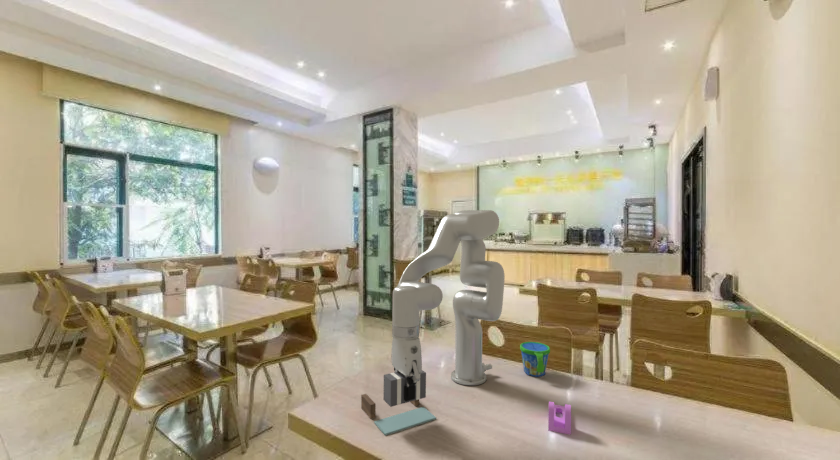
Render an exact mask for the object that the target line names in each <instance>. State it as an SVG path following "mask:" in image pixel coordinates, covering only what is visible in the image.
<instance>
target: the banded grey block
mask: <svg viewBox="0 0 840 460" xmlns="http://www.w3.org/2000/svg"><path fill="white" fill-rule="evenodd" d="M410 373H412V371H411V372H409V374H410ZM419 376H420V380H419V381H417V383H416V385H415V399H413V400H409V401H405V400H404V386H406V385H405V375H404V374H402V373H401V372H395V371H394V372H390V373H386V374H385V373H384V374H383V395H382V396H383V401H384V402H385V403H386V404H387V405H388V406H389V407H395V406H399V405H403V404H406V403H411V401H414V400H419V401H420V400H422V399H425V398H427V392H426V390H427V373H426V371H424V370H423V369H422V372H421V374H419ZM410 379H412V376H411V377H409V380H410Z"/></svg>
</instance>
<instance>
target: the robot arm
mask: <svg viewBox="0 0 840 460" xmlns="http://www.w3.org/2000/svg"><path fill="white" fill-rule="evenodd" d="M499 226H500V219H499V215H498V214H497V212H496V211H494V210H491V209H484V210H483V209H481V210H480V209H478V210H477V209H475V210H474V209H473V210H472V209H471V210H470V209H469V210H459V211H456V212H454V213H450V214H447V215H444V217H442V219H441V220H440V222H439V224H438V227H437V229H436V231H435V233H434V236H433V237H432V239H431V242H430V244H429V246H428V248H427V249H426V250H425V251H424V252H422V253H421V254H420V255H418V256H417V257H416V258H415V259H414V260H413V261H411V262H410V263H409V264H408V265H407V267H405V269H404V270H403V272H402V274H401V277H400V279H399V281H398V284H397V286H396V287H394V288H393V290H392V312H391V313H392V314H391V315H392V316H391V317H392V319H391V321H392V324H391V328H392V329H391V332H392V333H391V337H392V339H391V340H392V342H391V365H392V367H393V370H394V372H401V373H402V374H404V375H405V385H406V386H404V400H405V401H409V400H413V399H415V385H416V383H417V381H419V380H420V376H419V374H421V372H422V370H423V363H422V361H423V360H422V359H423V358H422V357H423V356H422V346H421V339H420V311H430V310H435V309H436V308H438V307H439V306H440V305H441V303H442V301H443V298H444V297H443V291H442V289H441V288H440V287H439V286H438V285H436V284H433V283H428V282H422V281H420V279H422V278H423V276H425V275H426V274H427V273H430V272H432V271H435V270H437V269H440V268H442V267H446V266H447V265H450V264H451V263H452V262H453V260H454V258H455V255H456V252H457V249H458V247H459V245H460V243H461V256H460V257H461V259H460V269H459V271H460V272H459V280H460V283H462V284H463V285H465V286H469V287H475V288H483V289H486V291H481V290H474V289H473V290H472V289H462V290H458V291H457V292H456V293H455V294H454V296H453V299H452V308H453V313H454V315H453V316H454V323H455V337H454V338H455V341H454V343H455V346H454V347H455V350H454V351H455V352H454V354H455V355H454V358H455V361H454V362H455V363H454V365H455V366H454V367H455V368H454V370H453V371H451V373H450V378H451V381H453V382H455V383H457V384H459V385H463V386H478V385H482V384H483V383H486V381H487V375H486V373H485V372H487V371H488V370H489V371H490V370H492V369H493V365H492V364H491V363H487V364H485V363H484V362H483V328H482V324H481V322H480V320H483V321H487V322H495V321H498V320H500V317H501V315H502V312H503V303H504V302H503V301H504V290H505V276H506V275H505V270H504V267H503V266H502V264H501V263H500V262H497V261H494V260H486V244H485V241H484V240H483V239H485V238H488V237H490V236H493V235H494V234H495V233H497V231H498V229H499ZM411 371H412V373H410V374H409V372H411ZM411 376H412V379H410V380H409V377H411Z"/></svg>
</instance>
